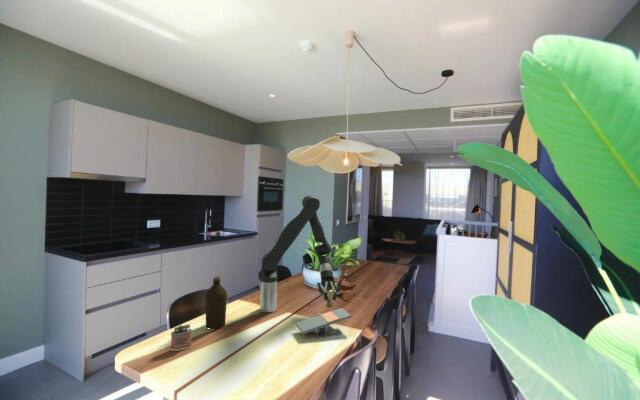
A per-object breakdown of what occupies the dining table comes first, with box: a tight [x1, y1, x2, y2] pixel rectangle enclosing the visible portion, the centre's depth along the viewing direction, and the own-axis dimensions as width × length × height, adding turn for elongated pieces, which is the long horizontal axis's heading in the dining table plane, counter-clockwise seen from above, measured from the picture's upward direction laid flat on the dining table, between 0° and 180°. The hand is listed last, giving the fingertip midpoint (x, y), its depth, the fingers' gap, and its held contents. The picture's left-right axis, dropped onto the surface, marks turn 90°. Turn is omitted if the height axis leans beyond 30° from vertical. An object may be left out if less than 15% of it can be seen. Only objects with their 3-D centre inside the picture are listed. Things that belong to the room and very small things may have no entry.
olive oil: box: [204, 275, 228, 330], centre depth 146 cm, size 11×11×25 cm
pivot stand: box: [312, 325, 338, 339], centre depth 143 cm, size 10×12×5 cm
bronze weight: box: [325, 289, 334, 309], centre depth 160 cm, size 4×4×9 cm
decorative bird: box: [334, 267, 357, 296], centre depth 202 cm, size 28×18×15 cm, turn 35°
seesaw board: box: [295, 307, 352, 335], centre depth 143 cm, size 26×10×1 cm, turn 113°
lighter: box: [170, 324, 193, 350], centre depth 124 cm, size 8×3×10 cm, turn 117°
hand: (330, 299), depth 158 cm, fingers closed on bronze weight, 4 cm apart
